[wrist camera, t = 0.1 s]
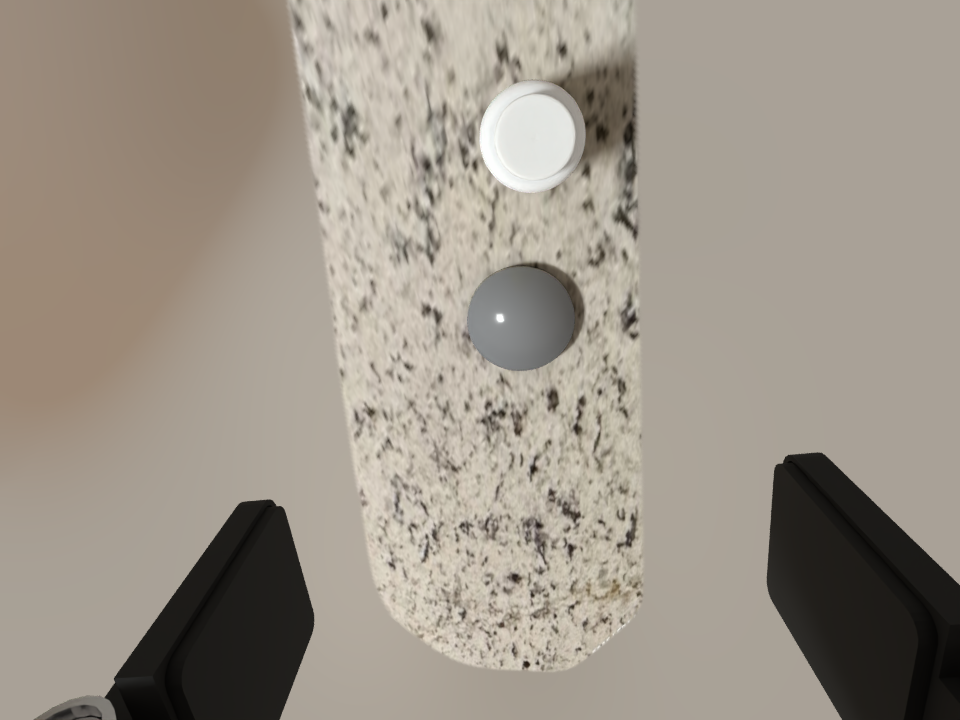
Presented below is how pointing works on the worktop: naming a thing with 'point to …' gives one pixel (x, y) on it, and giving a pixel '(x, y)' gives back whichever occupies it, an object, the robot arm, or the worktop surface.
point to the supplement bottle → (532, 136)
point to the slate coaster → (520, 318)
